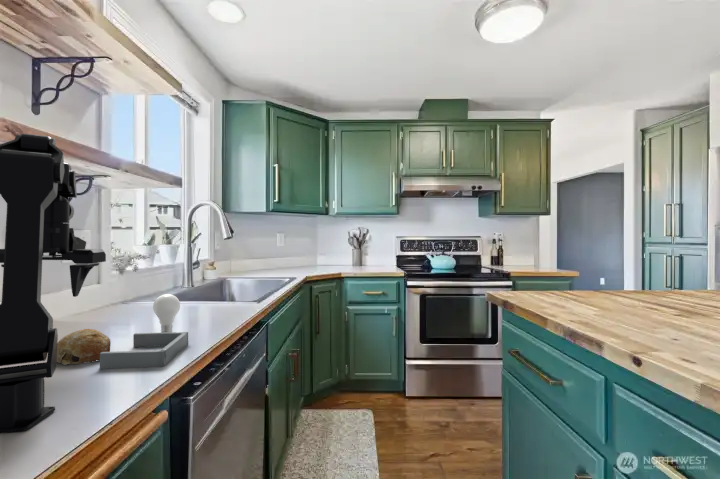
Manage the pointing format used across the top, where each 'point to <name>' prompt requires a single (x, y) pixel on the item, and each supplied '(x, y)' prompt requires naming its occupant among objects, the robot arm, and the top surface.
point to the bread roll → (82, 346)
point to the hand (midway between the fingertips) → (52, 296)
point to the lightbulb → (166, 310)
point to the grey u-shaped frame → (147, 358)
